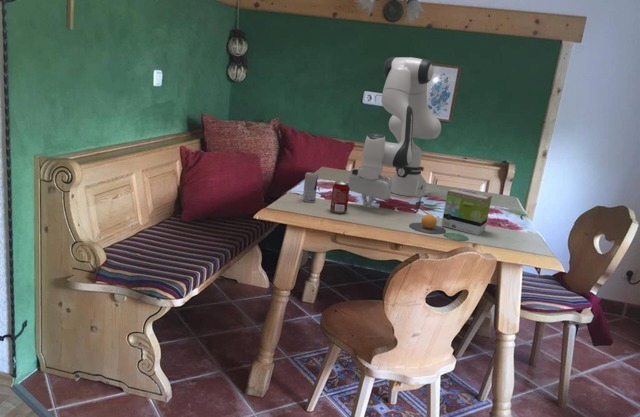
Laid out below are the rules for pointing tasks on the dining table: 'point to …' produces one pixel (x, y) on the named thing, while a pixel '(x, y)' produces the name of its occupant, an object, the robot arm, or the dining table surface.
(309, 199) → the energy drink
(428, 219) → the ball
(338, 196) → the soda can
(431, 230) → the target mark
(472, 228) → the tea box
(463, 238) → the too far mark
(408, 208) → the dining table surface
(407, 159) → the robot arm
